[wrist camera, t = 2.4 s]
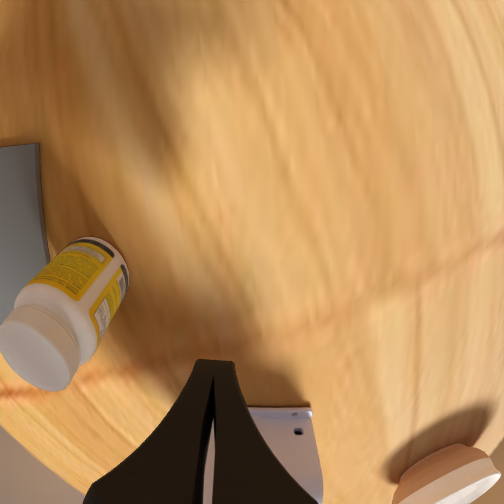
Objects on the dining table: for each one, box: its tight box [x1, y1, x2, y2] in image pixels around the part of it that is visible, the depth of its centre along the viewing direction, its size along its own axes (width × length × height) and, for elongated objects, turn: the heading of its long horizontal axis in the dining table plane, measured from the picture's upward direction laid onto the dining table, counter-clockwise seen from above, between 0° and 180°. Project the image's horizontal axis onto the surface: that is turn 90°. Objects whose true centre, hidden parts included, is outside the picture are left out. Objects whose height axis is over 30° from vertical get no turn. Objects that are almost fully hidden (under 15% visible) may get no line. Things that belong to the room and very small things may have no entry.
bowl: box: [392, 443, 501, 504], centre depth 28 cm, size 16×16×8 cm
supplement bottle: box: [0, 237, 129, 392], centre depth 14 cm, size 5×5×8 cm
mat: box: [0, 143, 50, 325], centre depth 18 cm, size 9×16×1 cm, turn 175°
